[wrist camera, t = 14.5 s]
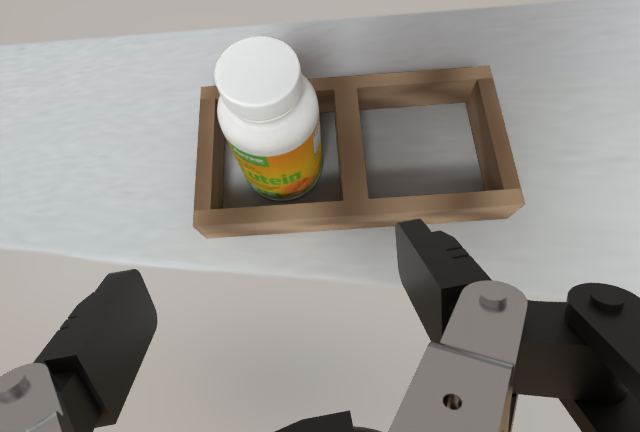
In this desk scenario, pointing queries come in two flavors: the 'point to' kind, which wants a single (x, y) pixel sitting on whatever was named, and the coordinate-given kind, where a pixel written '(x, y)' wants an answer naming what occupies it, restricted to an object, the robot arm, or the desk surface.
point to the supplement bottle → (269, 117)
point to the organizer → (355, 205)
